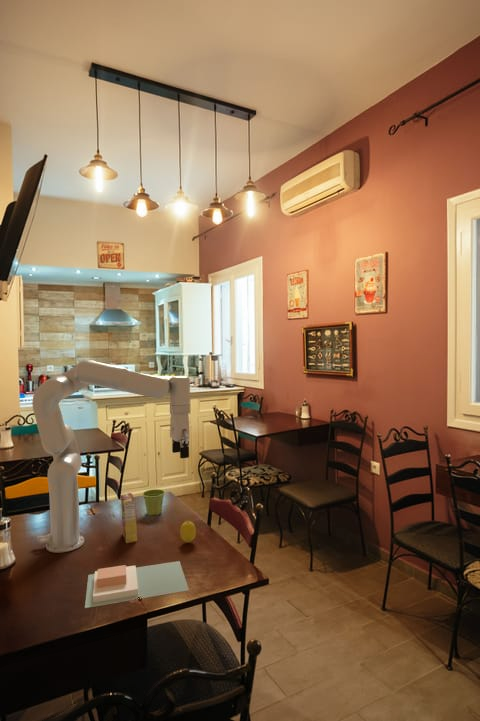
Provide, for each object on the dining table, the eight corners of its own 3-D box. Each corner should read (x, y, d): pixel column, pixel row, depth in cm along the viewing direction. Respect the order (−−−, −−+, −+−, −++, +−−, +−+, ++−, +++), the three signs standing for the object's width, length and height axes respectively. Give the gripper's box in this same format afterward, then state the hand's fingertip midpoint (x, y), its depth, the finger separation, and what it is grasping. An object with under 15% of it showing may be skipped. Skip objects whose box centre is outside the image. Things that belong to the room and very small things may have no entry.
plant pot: (154, 518, 177) (154, 497, 177) (138, 514, 182) (137, 494, 182) (170, 511, 185) (169, 491, 185) (153, 507, 190) (153, 487, 190)
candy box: (121, 534, 163) (120, 493, 163) (133, 532, 165) (132, 492, 164) (125, 543, 155) (124, 501, 154) (137, 541, 156) (136, 499, 156)
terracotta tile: (97, 588, 122) (97, 579, 122) (97, 577, 128) (97, 569, 128) (126, 583, 124) (126, 574, 124) (125, 573, 130) (125, 564, 130)
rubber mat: (84, 609, 116) (84, 608, 116) (88, 575, 133) (88, 574, 133) (188, 591, 124) (188, 590, 124) (179, 561, 141) (179, 561, 141)
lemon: (198, 541, 156) (198, 519, 156) (190, 547, 151) (190, 524, 151) (185, 538, 158) (185, 516, 158) (177, 544, 153) (177, 522, 153)
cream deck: (93, 602, 118) (92, 596, 118) (95, 576, 132) (94, 571, 132) (138, 594, 122) (138, 588, 121) (135, 570, 135) (135, 565, 135)
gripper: (163, 407, 168) (164, 451, 168) (177, 412, 152) (177, 461, 152) (182, 406, 171) (182, 449, 171) (197, 411, 155) (197, 459, 156)
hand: (180, 455), depth 162 cm, fingers open, 9 cm apart
